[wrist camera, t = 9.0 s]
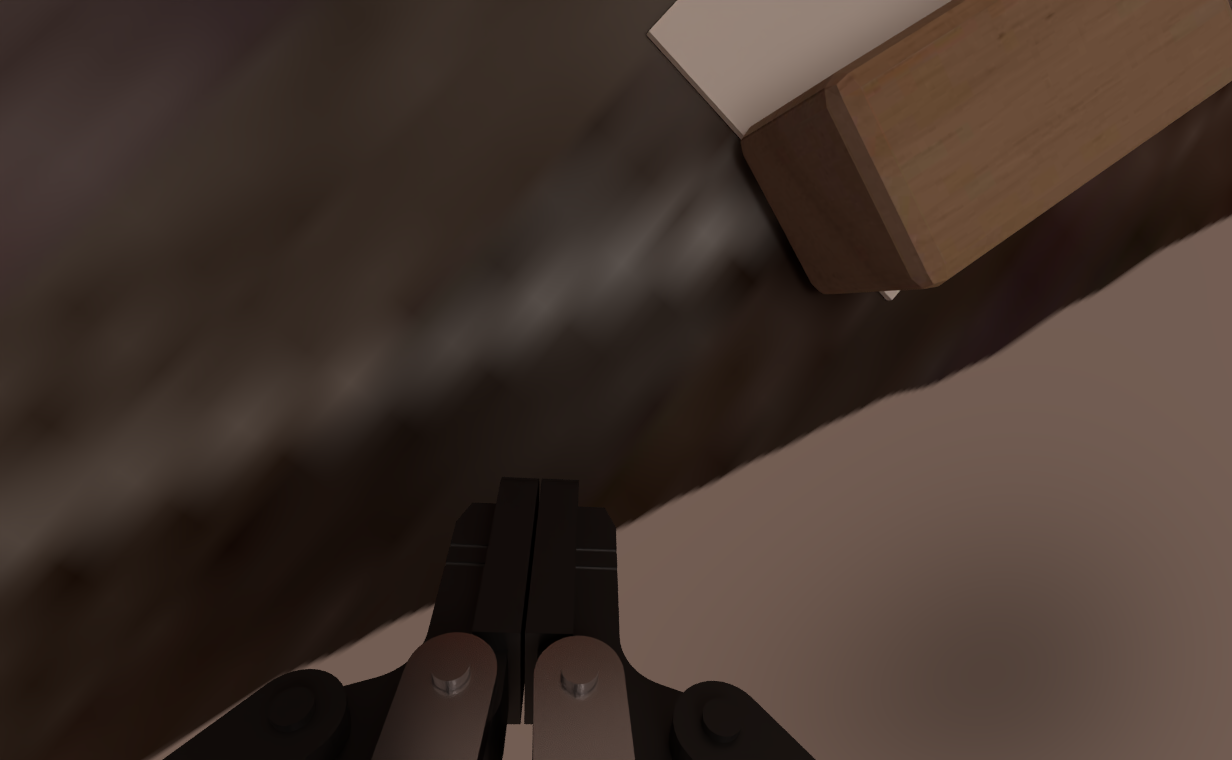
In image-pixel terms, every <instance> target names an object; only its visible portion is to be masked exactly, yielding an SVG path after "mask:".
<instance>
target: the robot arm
mask: <svg viewBox="0 0 1232 760" xmlns="http://www.w3.org/2000/svg"><path fill="white" fill-rule="evenodd" d="M578 487H579V480H564V479H542V483H541V492H540V501H539V479H536V478H513V477H502V478H501V482H500V487H499V492H498V498H497V503H496V504H492V503H472V504H471V505H470V506H469V507H468V508H467V510H466V511H465V512H464V513H463V514H462V515H461V517H460V518H459V519H458V520H457V521H456V525H455V529H454V533H453V536H452V540H451V547H450V548H449V552H448V556H447V560H446V566H445V567H444V571H443V575H442V579H441V583H440V587H439V591H438V595H437V598H436V602H435V606H434V610H433V614H432V618H431V622H430V626H429V630H428V633H427V636H426V639H425V641H424V643H423V644H422V645H421V646H420V647H418V648H417V649H416V650H415V652H414V653H413V654H412V655H411V657H410V658H409V660H408V662H406V663H405V664H404V665H402V666H401V667H399V668H397V669H396V670H394V671H392V672H390V673H387V674H385V675H382V676H379V677H376V678H372V679H369V680H365V681H361V682H357V683H354V684H350V685H346V686H343V685H342V683H341V682H340V681H339V680H338V679H337V678H336V677H334V676H333V675H332V674H330V673H328V672H326V671H321V670H315V669H305V670H298V671H293V672H290V673H287V674H284V675H282V676H280V677H278V678H276V679H274V680H273V681H271V682H269V683H268V684H266V685H265V686H264V687H262V688H261V689H259V690H258V691H257V692H255V693H254V694H253V695H251V696H250V697H248V698H247V699H246V700H244V701H243V702H241V703H240V704H239V705H237V706H236V707H235V708H233V709H232V710H230V711H229V712H228V713H226V714H225V715H224V716H222V717H221V718H219V719H218V720H217V721H215V722H214V723H213V724H211V725H210V726H208V727H207V728H206V729H204V730H203V731H201V732H200V733H199V734H197V735H196V736H195V737H194V738H192V739H190V740H189V741H188V742H186V743H185V744H184V745H182V746H181V747H179V748H178V749H177V750H175V751H174V752H172V753H171V754H170V755H168V756H167V757H166V758H164V759H163V760H502V758H503V752H504V743H505V736H506V727H507V724H520V723H521V712H522V704H523V694H524V684H525V716H524V722H525V723H524V724H533V751H532V752H533V753H532V760H815V759H814V758H813V757H812V756H811V755H810V754H809V753H808V752H807V751H806V750H805V749H804V748H803V747H802V746H801V745H800V744H799V743H798V742H797V741H796V740H795V739H794V738H793V737H792V736H791V735H790V734H789V733H788V732H787V731H786V730H785V729H783V728H782V727H781V726H780V725H779V724H778V723H777V722H776V721H775V720H774V719H773V718H772V717H771V716H770V715H769V714H768V713H767V712H766V711H765V710H764V709H763V708H762V707H761V706H760V705H759V704H758V703H757V702H756V701H754V700H753V699H752V697H750V696H749V695H748V694H747V693H746V692H744V691H743V690H741V689H739V688H738V687H735V686H733V685H731V684H728V683H725V682H719V681H706V682H701V683H698V684H695V685H693V686H691V687H690V688H688V689H687V690H686V691H685V692H681V691H678V690H675V689H672V688H669V687H666V686H663V685H660V684H658V683H655V682H653V681H651V680H649V679H647V678H645V677H644V676H642V675H641V674H640V673H638V672H637V671H636V670H635V669H634V668H633V667H632V666H631V665H630V664H629V662H628V660H627V659H626V657H625V655H624V653H623V651H622V648H621V645H620V638H619V608H618V581H617V580H618V579H617V554H616V527H615V525H614V523H613V522H612V520H611V518H610V517H609V515H608V513H607V511H606V510H605V508H596V507H578Z"/></svg>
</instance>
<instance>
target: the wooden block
mask: <svg viewBox="0 0 1232 760" xmlns="http://www.w3.org/2000/svg"><path fill="white" fill-rule="evenodd" d="M1231 81H1232V10H1231V8H1230V5H1229V2H1228V0H951V1H950V2H948V3H947V4H945V5H943V6H942V7H940V8H939V9H937V10H935V11H934V12H932V13H931V14H929V15H927V16H926V17H924V18H922V19H921V20H919V21H918V22H916V23H914V24H913V25H911V26H910V27H908V28H906V29H905V30H903V31H901V32H900V33H898V34H897V35H895V36H893V37H892V38H890V39H889V40H887V41H885V42H884V43H882V44H881V45H879V46H877V47H876V48H874V49H872V50H871V51H869V52H868V53H866V54H864V55H863V56H861V57H860V58H858V59H856V60H855V61H853V62H852V63H850V64H848V65H847V66H845V67H843V68H842V69H840V70H839V71H837V72H835V73H834V74H832V75H831V76H829V77H828V78H826V79H824V80H823V81H821V82H820V83H818V84H817V85H815V86H813V87H812V88H810V89H809V90H807V91H806V92H804V93H802V94H801V95H799V96H798V97H796V98H795V99H793V100H792V101H790V102H788V103H787V104H785V105H784V106H782V107H781V108H779V109H777V110H776V111H774V112H773V113H771V114H770V115H768V116H766V117H765V118H763V119H762V120H760V121H759V122H757V123H755V124H754V125H752V126H751V127H750V128H749V129H748V131H747V132H746V134H745V135H744V136H743V138H742V140H741V148H742V153H743V156H744V158H745V159H746V161H747V163H748V165H749V167H750V169H751V171H752V173H753V174H754V176H755V178H756V180H757V182H758V184H759V186H760V188H761V190H762V191H763V193H764V195H765V197H766V199H767V201H768V203H769V205H770V207H771V208H772V210H773V212H774V214H775V216H776V218H777V220H778V222H779V224H780V225H781V227H782V229H783V231H784V233H785V235H786V237H787V239H788V240H789V242H790V244H791V246H792V248H793V250H794V252H795V254H796V256H797V257H798V259H799V261H800V263H801V265H802V267H803V269H804V271H805V273H806V274H807V276H808V278H809V280H810V282H811V284H812V285H813V286H814V287H815V288H816V289H817V290H818V291H819V292H821V293H823V294H840V293H859V292H877V291H895V290H914V289H926V288H931V287H937V286H939V285H941V284H942V283H944V282H945V281H946V280H948V279H949V278H951V277H952V276H954V275H955V274H956V273H958V272H959V271H961V270H962V269H964V268H965V267H966V266H968V265H969V264H971V263H972V262H974V261H975V260H976V259H978V258H979V257H981V256H982V255H984V254H985V253H986V252H988V251H989V250H991V249H992V248H994V247H995V246H996V245H998V244H999V243H1001V242H1002V241H1004V240H1005V239H1006V238H1008V237H1009V236H1011V235H1012V234H1014V233H1015V232H1016V231H1018V230H1019V229H1021V228H1022V227H1024V226H1025V225H1026V224H1028V223H1029V222H1031V221H1032V220H1034V219H1035V218H1036V217H1038V216H1039V215H1041V214H1042V213H1044V212H1045V211H1046V210H1048V209H1049V208H1051V207H1052V206H1054V205H1055V204H1056V203H1058V202H1059V201H1061V200H1062V199H1064V198H1065V197H1066V196H1068V195H1069V194H1071V193H1072V192H1074V191H1075V190H1076V189H1078V188H1079V187H1081V186H1082V185H1084V184H1085V183H1086V182H1088V181H1089V180H1091V179H1092V178H1094V177H1095V176H1096V175H1098V174H1099V173H1101V172H1102V171H1104V170H1105V169H1106V168H1108V167H1109V166H1111V165H1112V164H1114V163H1115V162H1116V161H1118V160H1119V159H1121V158H1122V157H1124V156H1125V155H1126V154H1128V153H1129V152H1131V151H1132V150H1134V149H1135V148H1136V147H1138V146H1139V145H1141V144H1142V143H1144V142H1145V141H1146V140H1148V139H1149V138H1151V137H1152V136H1154V135H1155V134H1156V133H1158V132H1159V131H1161V130H1162V129H1164V128H1165V127H1166V126H1168V125H1169V124H1171V123H1172V122H1174V121H1175V120H1176V119H1178V118H1179V117H1181V116H1182V115H1184V114H1185V113H1186V112H1188V111H1189V110H1191V109H1192V108H1194V107H1195V106H1196V105H1198V104H1199V103H1201V102H1202V101H1204V100H1205V99H1206V98H1208V97H1209V96H1211V95H1212V94H1214V93H1215V92H1216V91H1218V90H1219V89H1221V88H1222V87H1224V86H1225V85H1226V84H1228V83H1229V82H1231Z"/></svg>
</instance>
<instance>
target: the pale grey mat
mask: <svg viewBox="0 0 1232 760" xmlns="http://www.w3.org/2000/svg"><path fill="white" fill-rule="evenodd" d="M950 1H951V0H677V1H676V2H675V3H674V5H673V6H672V7H671V8H670V9H669V10H668V11H667V12H666V13H665V14H664V15H663V16H662V17H661V19H660V20H659V21H658V22H657V23H656V24H655V25H654V26H653V27H652V28H651V29H650V30H649V32H648V33H647V36H648V37H649V38H650V40H651V41H652V42H653V43H654V44H655V45H656V46H657V47H658V48H659V49H660V51H661V52H662V53H663V54H664V55H665V56H666V57H667V58H668V59H669V61H670V62H671V63H672V64H673V65H674V66H675V67H676V68H677V69H678V70H679V72H680V73H681V74H682V75H683V76H684V77H685V78H686V79H687V80H688V82H689V83H690V84H691V85H692V86H693V87H694V88H695V89H696V90H697V91H698V93H699V94H700V95H701V96H702V97H703V98H704V99H705V100H706V101H707V102H708V104H709V105H710V106H711V107H712V108H713V109H714V110H715V111H716V112H717V114H718V115H719V116H720V117H721V118H722V119H723V120H724V121H725V122H726V123H727V125H728V126H729V127H730V128H731V129H732V130H733V131H734V132H735V133H736V134H737V136H738V137H739V138H740V139H741V140H742V138H743V136H744V135H745V134H746V132H747V131H748V129H749V128H750V127H751V126H752V125H754V124H755V123H757V122H759V121H760V120H762V119H763V118H765V117H766V116H768V115H770V114H771V113H773V112H774V111H776V110H777V109H779V108H781V107H782V106H784V105H785V104H787V103H788V102H790V101H792V100H793V99H795V98H796V97H798V96H799V95H801V94H802V93H804V92H806V91H807V90H809V89H810V88H812V87H813V86H815V85H817V84H818V83H820V82H821V81H823V80H824V79H826V78H828V77H829V76H831V75H832V74H834V73H835V72H837V71H839V70H840V69H842V68H843V67H845V66H847V65H848V64H850V63H852V62H853V61H855V60H856V59H858V58H860V57H861V56H863V55H864V54H866V53H868V52H869V51H871V50H872V49H874V48H876V47H877V46H879V45H881V44H882V43H884V42H885V41H887V40H889V39H890V38H892V37H893V36H895V35H897V34H898V33H900V32H901V31H903V30H905V29H906V28H908V27H910V26H911V25H913V24H914V23H916V22H918V21H919V20H921V19H922V18H924V17H926V16H927V15H929V14H931V13H932V12H934V11H935V10H937V9H939V8H940V7H942V6H943V5H945V4H947V3H948V2H950ZM899 291H900V290H895V291H879V292H880V293H881V295H882V296H883V297H884V298H885V299H886V300H892V299H893V298H894V297H895V296H896V295H897V294H898V292H899Z"/></svg>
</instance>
